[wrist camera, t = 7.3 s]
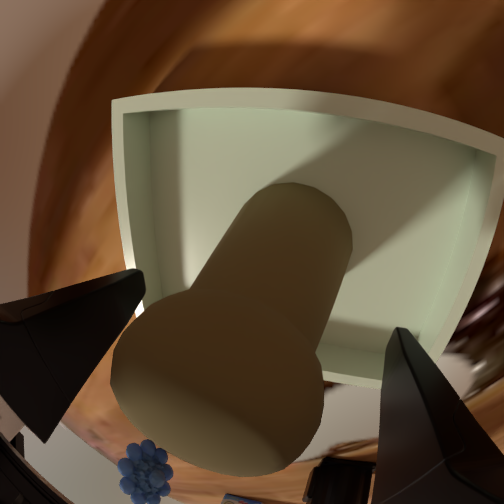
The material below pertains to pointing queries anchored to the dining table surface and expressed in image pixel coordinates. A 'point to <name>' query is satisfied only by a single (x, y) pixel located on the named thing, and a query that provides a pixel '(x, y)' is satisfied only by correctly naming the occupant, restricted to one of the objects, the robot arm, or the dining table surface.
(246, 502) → the medicine box
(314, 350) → the cork
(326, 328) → the parts tray
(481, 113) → the dining table surface
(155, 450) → the blue bumpy cluster
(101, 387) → the dining table surface
